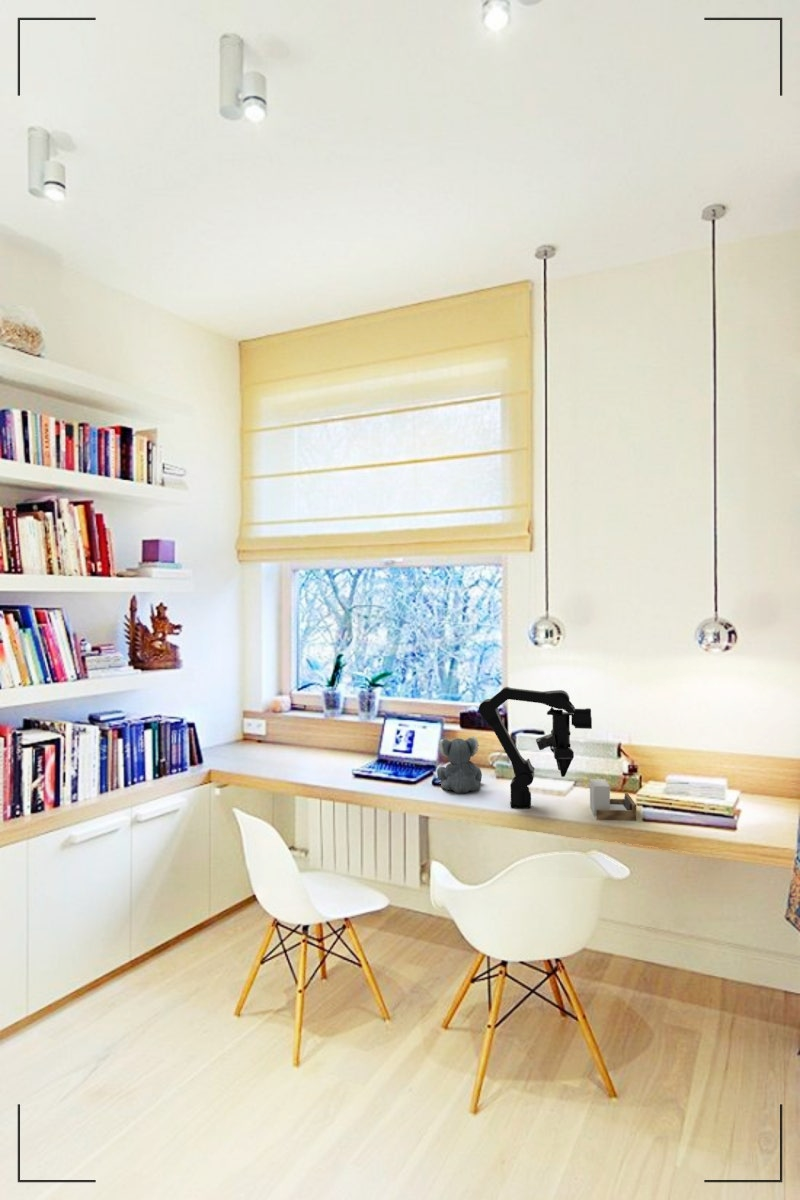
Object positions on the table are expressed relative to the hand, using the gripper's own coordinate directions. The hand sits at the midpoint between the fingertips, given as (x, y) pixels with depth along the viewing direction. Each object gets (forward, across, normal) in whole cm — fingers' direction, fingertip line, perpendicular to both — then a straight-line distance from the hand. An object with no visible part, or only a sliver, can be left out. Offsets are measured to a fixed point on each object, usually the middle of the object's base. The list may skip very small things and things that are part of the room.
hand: (561, 773), depth 259 cm
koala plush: (+12, -24, -35) cm, 44 cm away
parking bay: (+12, +5, +16) cm, 21 cm away
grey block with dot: (+12, +4, +15) cm, 20 cm away
